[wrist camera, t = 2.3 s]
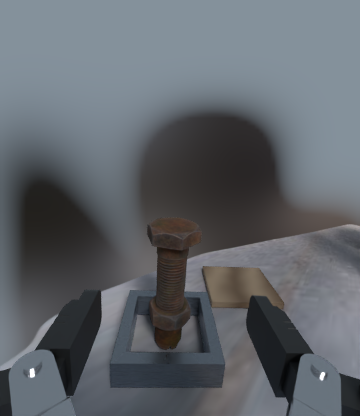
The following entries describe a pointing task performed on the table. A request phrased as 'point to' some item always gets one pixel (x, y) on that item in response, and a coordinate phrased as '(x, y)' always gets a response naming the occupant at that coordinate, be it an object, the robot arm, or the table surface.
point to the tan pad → (237, 286)
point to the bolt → (171, 277)
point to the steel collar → (163, 361)
